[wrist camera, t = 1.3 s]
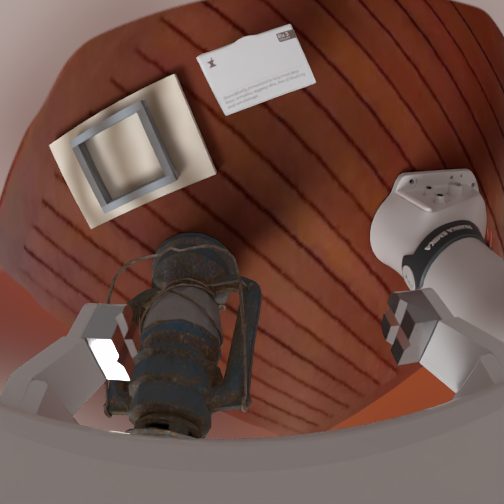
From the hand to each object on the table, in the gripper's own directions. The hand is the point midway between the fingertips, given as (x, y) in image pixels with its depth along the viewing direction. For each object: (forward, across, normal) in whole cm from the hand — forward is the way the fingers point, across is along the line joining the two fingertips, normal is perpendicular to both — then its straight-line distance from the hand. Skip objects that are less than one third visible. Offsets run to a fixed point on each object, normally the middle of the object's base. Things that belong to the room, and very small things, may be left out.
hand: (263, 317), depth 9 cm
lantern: (+32, +8, +18) cm, 38 cm away
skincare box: (+33, -1, -8) cm, 34 cm away
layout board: (+32, +15, +1) cm, 36 cm away
